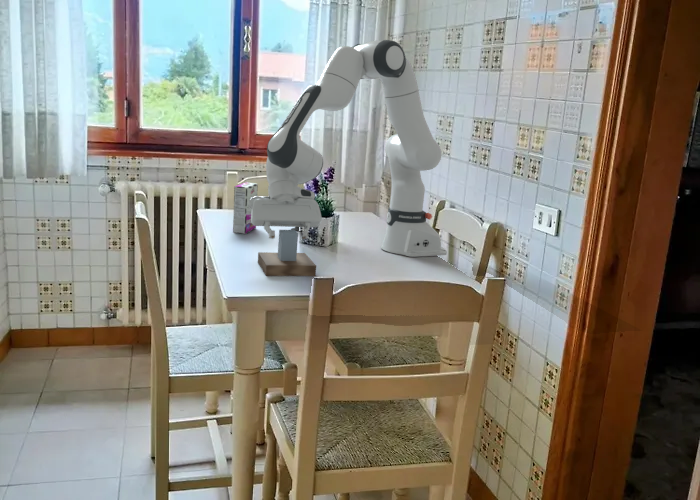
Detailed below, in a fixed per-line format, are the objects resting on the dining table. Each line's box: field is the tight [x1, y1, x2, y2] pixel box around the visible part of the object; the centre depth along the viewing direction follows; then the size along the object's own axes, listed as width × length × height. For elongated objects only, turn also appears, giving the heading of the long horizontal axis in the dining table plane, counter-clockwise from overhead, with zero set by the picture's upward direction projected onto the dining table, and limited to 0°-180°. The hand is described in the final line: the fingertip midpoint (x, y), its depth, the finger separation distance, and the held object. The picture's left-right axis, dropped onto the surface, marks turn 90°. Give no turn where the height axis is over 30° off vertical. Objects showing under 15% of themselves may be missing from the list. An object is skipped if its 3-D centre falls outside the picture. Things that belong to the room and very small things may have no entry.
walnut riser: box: [257, 251, 317, 277], centre depth 190 cm, size 14×14×3 cm
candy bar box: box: [232, 181, 259, 235], centre depth 233 cm, size 11×5×16 cm, turn 168°
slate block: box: [277, 229, 299, 261], centre depth 189 cm, size 4×4×8 cm
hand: (288, 237), depth 188 cm, fingers open, 8 cm apart
